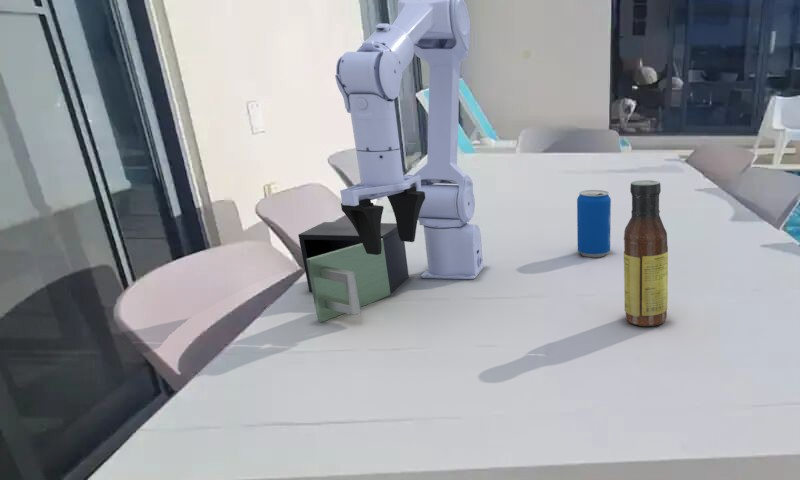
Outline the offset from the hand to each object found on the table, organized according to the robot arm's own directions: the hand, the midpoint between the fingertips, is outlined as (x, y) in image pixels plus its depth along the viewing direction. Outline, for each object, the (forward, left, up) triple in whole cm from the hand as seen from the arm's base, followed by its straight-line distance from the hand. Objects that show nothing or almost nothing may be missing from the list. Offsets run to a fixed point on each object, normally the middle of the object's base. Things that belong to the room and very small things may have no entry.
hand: (391, 247), depth 92 cm
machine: (+11, -12, -10) cm, 19 cm away
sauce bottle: (-37, +1, -10) cm, 38 cm away
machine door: (+4, 0, -10) cm, 11 cm away
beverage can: (-27, -35, -10) cm, 45 cm away
